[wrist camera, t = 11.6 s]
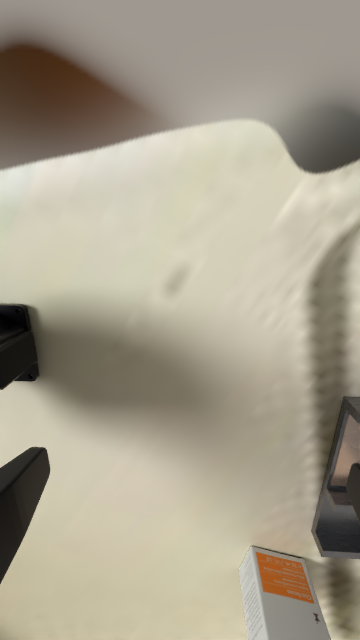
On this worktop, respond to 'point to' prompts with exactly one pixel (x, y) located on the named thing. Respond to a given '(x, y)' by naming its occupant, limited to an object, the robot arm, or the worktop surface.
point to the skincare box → (279, 598)
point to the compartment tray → (340, 490)
